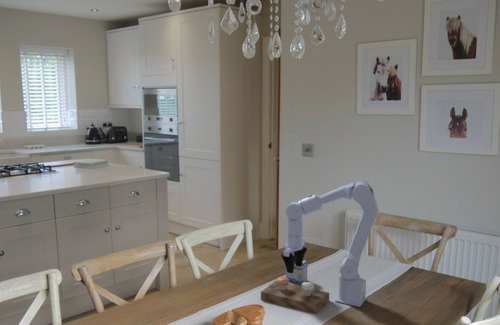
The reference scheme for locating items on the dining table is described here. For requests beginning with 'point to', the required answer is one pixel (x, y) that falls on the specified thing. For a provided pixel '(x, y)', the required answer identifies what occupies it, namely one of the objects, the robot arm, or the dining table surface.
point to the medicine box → (298, 273)
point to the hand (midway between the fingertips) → (294, 269)
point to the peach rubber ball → (282, 282)
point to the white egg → (307, 288)
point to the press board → (295, 297)
